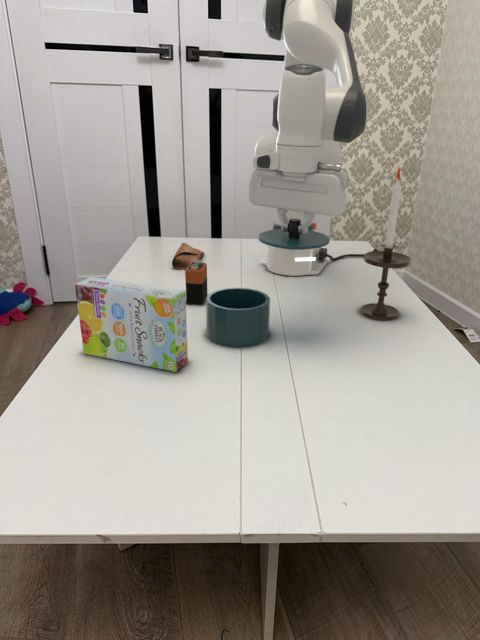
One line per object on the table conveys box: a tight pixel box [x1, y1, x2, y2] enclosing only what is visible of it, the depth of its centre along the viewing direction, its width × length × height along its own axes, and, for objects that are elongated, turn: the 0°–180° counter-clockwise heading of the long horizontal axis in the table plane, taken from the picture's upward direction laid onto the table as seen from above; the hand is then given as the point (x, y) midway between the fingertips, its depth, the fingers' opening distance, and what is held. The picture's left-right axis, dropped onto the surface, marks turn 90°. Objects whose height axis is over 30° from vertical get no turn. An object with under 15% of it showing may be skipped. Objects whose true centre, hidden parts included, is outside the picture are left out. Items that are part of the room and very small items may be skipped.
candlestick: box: [360, 165, 412, 321], centre depth 118 cm, size 11×11×35 cm
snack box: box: [74, 276, 189, 373], centre depth 97 cm, size 21×6×15 cm, turn 71°
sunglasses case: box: [171, 242, 205, 271], centre depth 161 cm, size 18×7×7 cm
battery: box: [184, 259, 208, 306], centre depth 128 cm, size 4×7×10 cm, turn 175°
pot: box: [205, 287, 271, 348], centre depth 111 cm, size 14×14×8 cm
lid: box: [258, 219, 331, 250], centre depth 103 cm, size 15×15×5 cm
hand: (294, 232), depth 103 cm, fingers closed on lid, 2 cm apart
